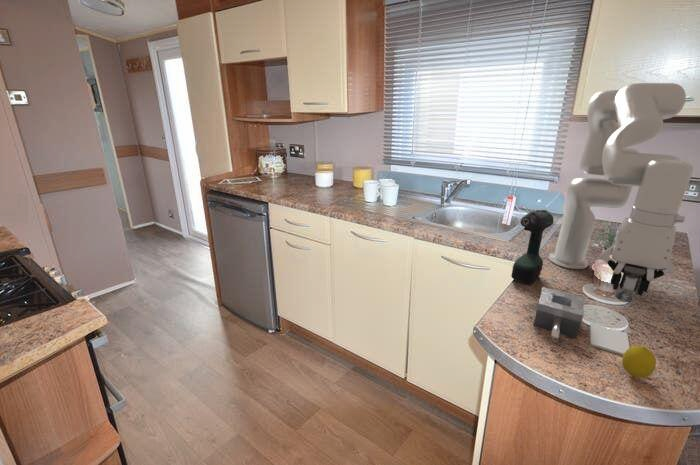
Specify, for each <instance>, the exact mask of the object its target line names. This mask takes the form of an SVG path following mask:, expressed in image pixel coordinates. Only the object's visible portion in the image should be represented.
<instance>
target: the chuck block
mask: <svg viewBox="0 0 700 465" xmlns="http://www.w3.org/2000/svg"><path fill="white" fill-rule="evenodd" d="M584 303H585V297H583V296H579V295H575V294H572V293H568V292H563V291H559V290H556V289H551V288H548V287H545V286H542V288H541V292H540V296H539V299H538V304H537V308H536V313H535V316H534V321H533V325H532V326H533V327H537V328H539V329H543V330H547V331H550V332H551V335H550V338H551V340H552V341H555V342H556V341H559V339H560V335H563V336H565V337H569V338H572V339H575V340H576V339H577V337H578V334H579V331H580V328H581V325H582V321H583V319H584V312H585V308H584V307H585V306H584V305H585V304H584Z"/></svg>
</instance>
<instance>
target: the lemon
mask: <svg viewBox="0 0 700 465" xmlns="http://www.w3.org/2000/svg"><path fill="white" fill-rule="evenodd" d="M629 347H630V348H629V349H627V351H626V352H625V353H624V355H622V358H621V363H622V367H623V369H624V371H625V372H626V373H628V374H629V375H630V376H631V377H632V378H639V379H645V378H648V377H650V376H651V375H652V374H653V373H654V372H655V369H656V366H657V359H656V356H655V353H653V351H651V350H650V349H649V348H647V347H646V346H642V345H633V346H629Z"/></svg>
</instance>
